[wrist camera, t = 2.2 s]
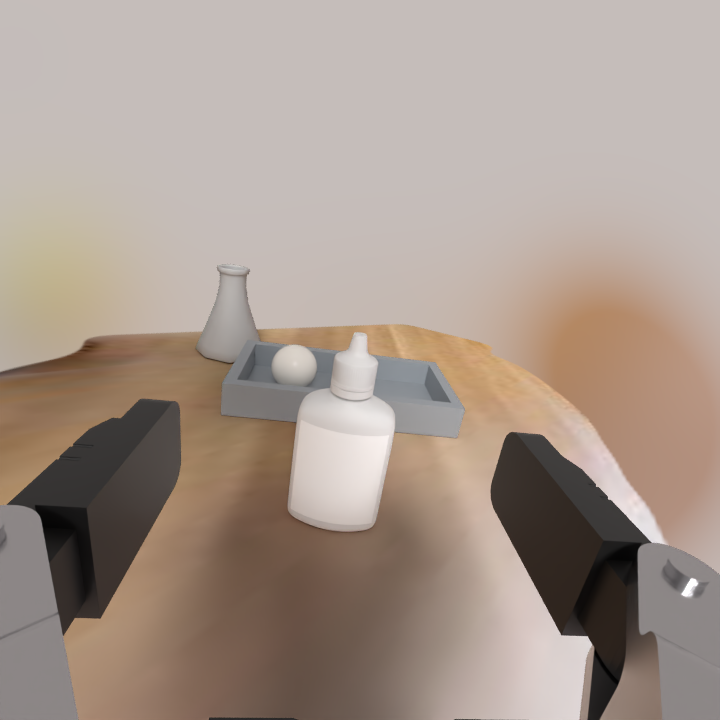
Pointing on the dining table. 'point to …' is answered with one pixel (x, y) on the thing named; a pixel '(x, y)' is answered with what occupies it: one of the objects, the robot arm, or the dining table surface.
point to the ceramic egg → (294, 366)
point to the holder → (282, 402)
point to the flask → (228, 317)
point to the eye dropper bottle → (342, 446)
